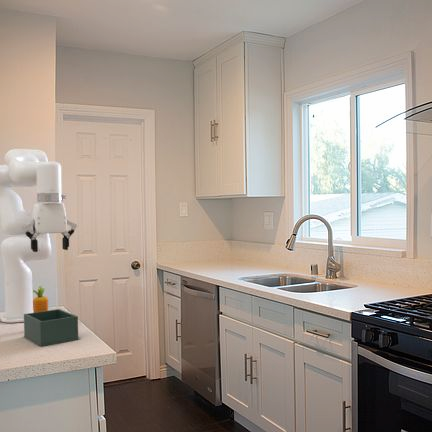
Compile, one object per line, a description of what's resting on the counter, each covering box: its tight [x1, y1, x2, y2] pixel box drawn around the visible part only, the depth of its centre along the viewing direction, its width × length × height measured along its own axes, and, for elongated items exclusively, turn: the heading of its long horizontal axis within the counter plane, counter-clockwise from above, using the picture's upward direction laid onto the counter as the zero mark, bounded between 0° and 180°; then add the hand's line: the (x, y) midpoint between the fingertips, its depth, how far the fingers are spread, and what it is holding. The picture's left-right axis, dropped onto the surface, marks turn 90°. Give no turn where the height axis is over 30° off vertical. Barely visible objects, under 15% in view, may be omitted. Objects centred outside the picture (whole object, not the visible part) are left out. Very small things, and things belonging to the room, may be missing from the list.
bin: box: [23, 308, 79, 347], centre depth 177 cm, size 17×12×8 cm
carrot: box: [32, 285, 49, 313], centre depth 190 cm, size 5×5×15 cm
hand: (50, 250), depth 179 cm, fingers open, 9 cm apart
